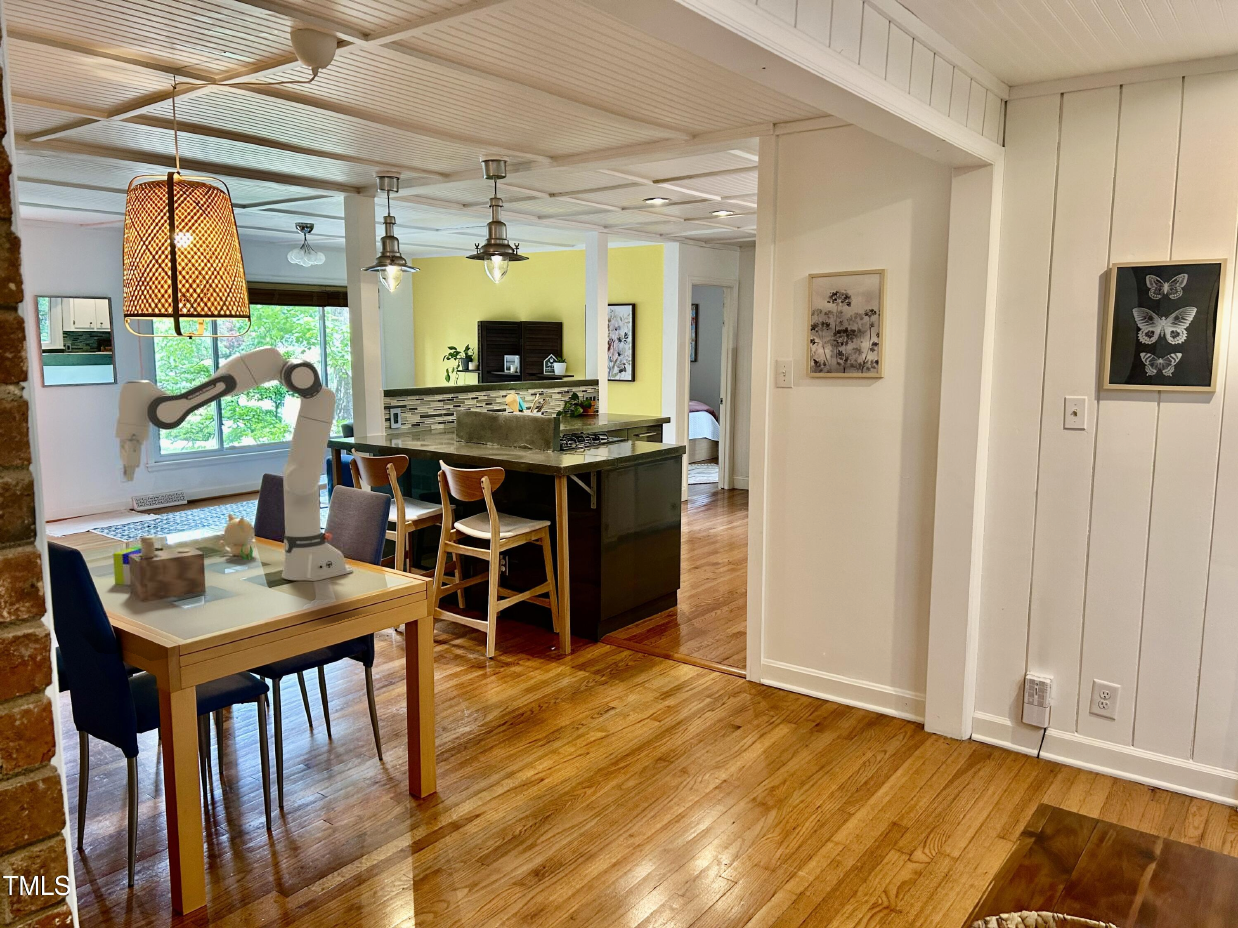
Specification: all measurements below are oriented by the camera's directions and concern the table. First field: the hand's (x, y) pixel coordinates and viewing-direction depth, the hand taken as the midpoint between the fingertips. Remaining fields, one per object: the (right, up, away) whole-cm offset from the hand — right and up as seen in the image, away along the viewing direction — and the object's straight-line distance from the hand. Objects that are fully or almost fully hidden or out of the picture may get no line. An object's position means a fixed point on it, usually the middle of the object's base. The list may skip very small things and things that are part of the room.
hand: (127, 478), depth 265 cm
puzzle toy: (-6, -34, +19) cm, 39 cm away
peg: (+6, -29, +2) cm, 30 cm away
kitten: (+11, -29, +54) cm, 63 cm away
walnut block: (+9, -35, +6) cm, 37 cm away
